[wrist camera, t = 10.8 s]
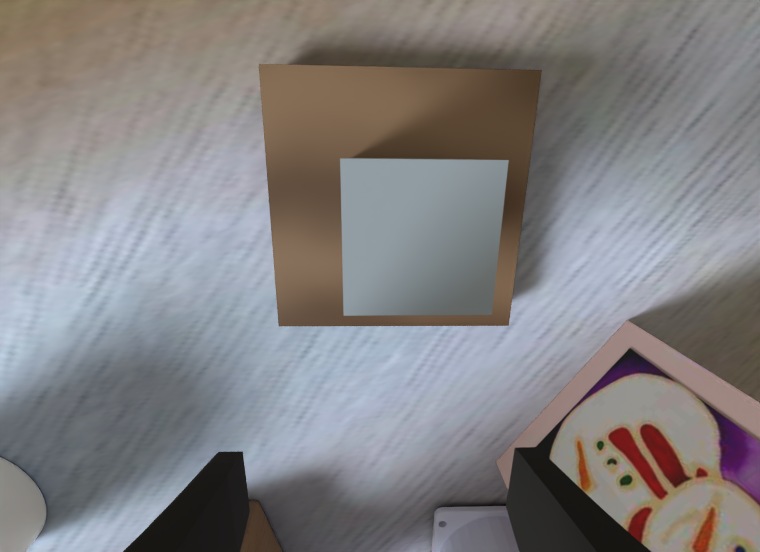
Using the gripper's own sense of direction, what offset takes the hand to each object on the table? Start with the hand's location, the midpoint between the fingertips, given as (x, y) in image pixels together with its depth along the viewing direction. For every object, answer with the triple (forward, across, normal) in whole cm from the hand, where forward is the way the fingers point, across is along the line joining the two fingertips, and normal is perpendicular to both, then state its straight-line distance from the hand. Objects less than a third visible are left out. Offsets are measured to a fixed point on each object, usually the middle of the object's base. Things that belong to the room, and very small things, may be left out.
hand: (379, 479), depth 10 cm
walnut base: (+10, -1, -6) cm, 12 cm away
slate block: (+8, -1, -6) cm, 10 cm away
